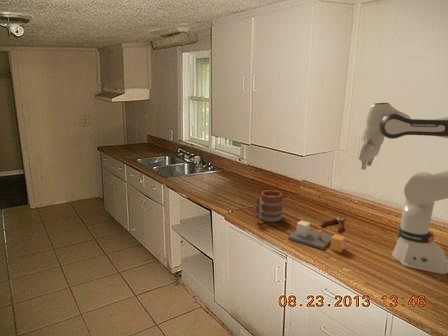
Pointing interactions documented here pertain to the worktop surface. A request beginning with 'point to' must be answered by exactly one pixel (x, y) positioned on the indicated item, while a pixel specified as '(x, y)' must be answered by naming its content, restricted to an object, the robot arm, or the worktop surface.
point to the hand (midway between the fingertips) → (366, 167)
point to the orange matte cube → (337, 243)
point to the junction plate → (310, 236)
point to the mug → (269, 206)
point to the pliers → (338, 220)
